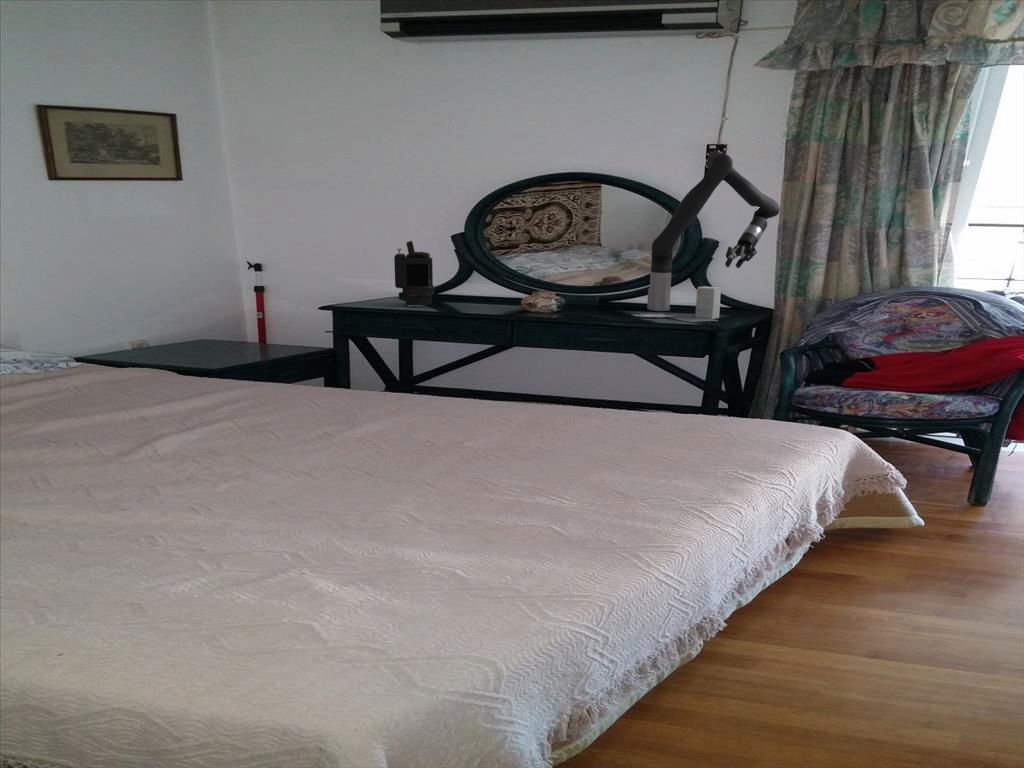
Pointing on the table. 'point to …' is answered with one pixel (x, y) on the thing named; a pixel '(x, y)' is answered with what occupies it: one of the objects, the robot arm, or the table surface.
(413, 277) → the black boxy device
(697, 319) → the mat
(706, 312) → the small box
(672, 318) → the table surface
